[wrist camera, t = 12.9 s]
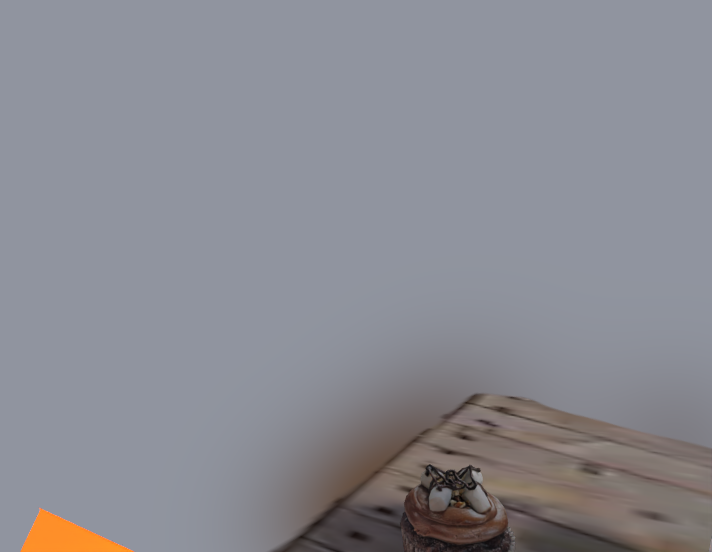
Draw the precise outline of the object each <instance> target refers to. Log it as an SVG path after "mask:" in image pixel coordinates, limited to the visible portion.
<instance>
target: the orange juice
mask: <svg viewBox="0 0 712 552" xmlns="http://www.w3.org/2000/svg"><path fill="white" fill-rule="evenodd" d="M21 552H133V551H131V550H129V549H127V548H125V547H123V546H121V545H118V544H116V543H114V542H112V541H110V540H107V539H105V538H103V537H101V536H99V535H97V534H95V533H92V532H90V531H88V530H86V529H84V528H82V527H79V526H77V525H75V524H73V523H71V522H69V521H66V520H64V519H62V518H60V517H58V516H55V515H53V514H51V513H49V512H47V511H44V510H43V509H40V512H39V514H38V516H37V518H36V520H35V522H34V525H33V527H32V529H31V531H30V533H29V535H28V537H27V539H26V541H25V543H24V545H23V548H22V550H21Z"/></svg>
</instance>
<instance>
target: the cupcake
mask: <svg viewBox="0 0 712 552" xmlns="http://www.w3.org/2000/svg"><path fill="white" fill-rule="evenodd" d="M451 473H452V474H451ZM482 481H483V478H482V474H481V473H480V468H475V467H473V466H472V465H469V467H465V468H462V469H461V470H460V471H459V472H456V471H455V470H447V471H446V472H444V471H442V470H440V469H437V468H435V467H434V466H432V465H430V464H429V465H428V466H427V467H426V470H425V471H424V472H423V473H422V476H421V484H419V485H418V486H416V487H415V488H414V489H412V490H411V491H410V492H409V494H408V495H407V496H406V499H405V502H404V507H405V512H404V513H403V516H402V519H401V523H400V525H401V532H402V537H403V544H404V550H405V552H514V548H515V546H514V545H515V543H516V542H514V540H515V537H514V536H513V532H512V531H511V532H510V529H511V528H510V527H509V528H508V519H507V514H506V512H505V509H504V507H503V505H502V504H501V503H500V501H499V500H498V499H497V498H496V497H495V496H493V495H491V494H490V493H488V492H487V491H486V490H485V489H484V488H483V487H482V485H481V484H482Z"/></svg>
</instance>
